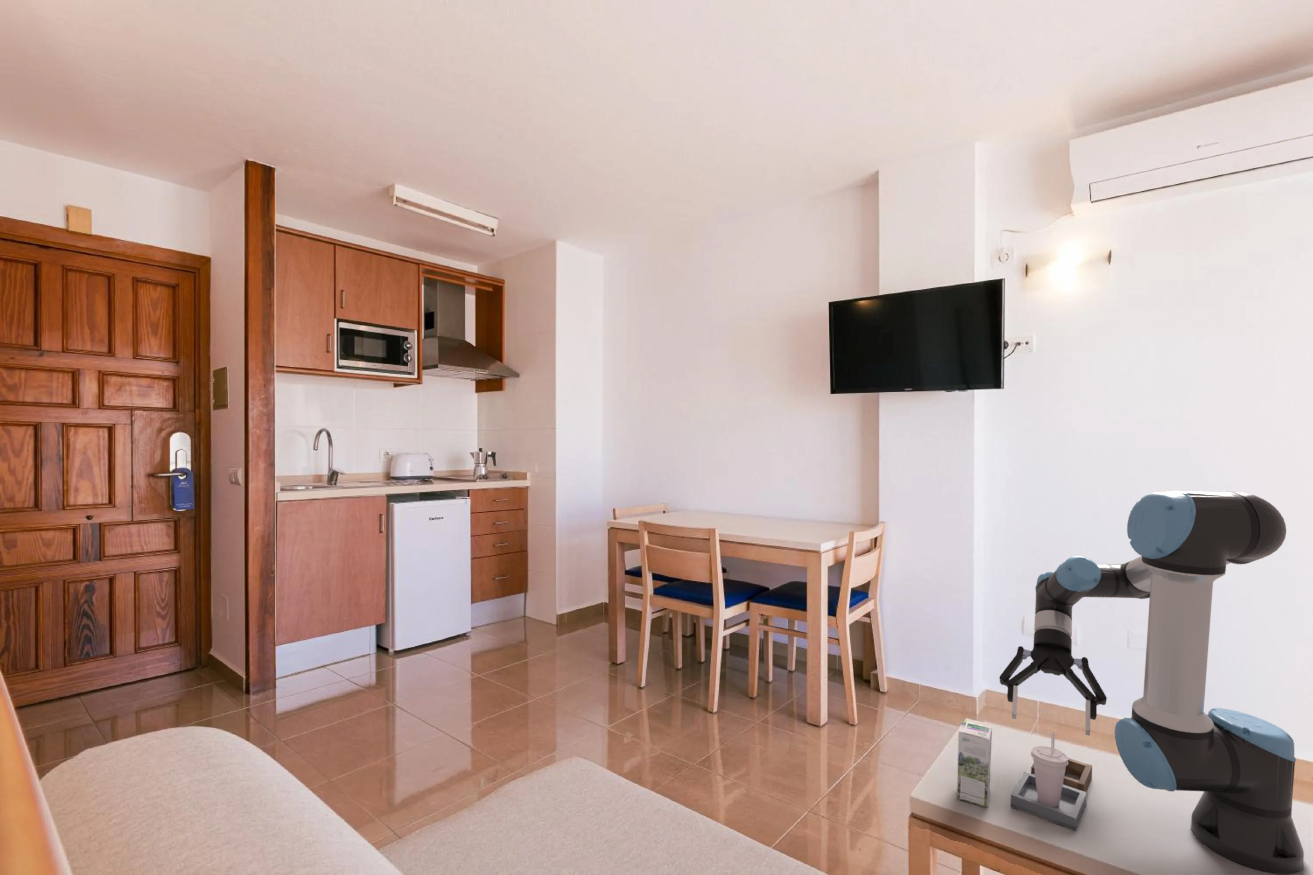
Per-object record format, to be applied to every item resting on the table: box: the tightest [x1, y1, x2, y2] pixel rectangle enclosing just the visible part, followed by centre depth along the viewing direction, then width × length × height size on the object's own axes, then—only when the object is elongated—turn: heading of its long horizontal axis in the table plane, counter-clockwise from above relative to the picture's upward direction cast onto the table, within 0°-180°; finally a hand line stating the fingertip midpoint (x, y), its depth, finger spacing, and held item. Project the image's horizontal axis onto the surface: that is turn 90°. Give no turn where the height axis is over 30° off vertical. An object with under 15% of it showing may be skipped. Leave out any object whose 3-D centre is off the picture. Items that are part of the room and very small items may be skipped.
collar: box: [1030, 757, 1093, 792], centre depth 138 cm, size 10×10×3 cm
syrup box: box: [956, 719, 993, 808], centre depth 132 cm, size 6×6×14 cm
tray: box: [1010, 771, 1088, 832], centre depth 129 cm, size 11×11×2 cm
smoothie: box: [1030, 731, 1069, 807], centre depth 129 cm, size 6×6×14 cm
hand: (1049, 724), depth 139 cm, fingers open, 13 cm apart
